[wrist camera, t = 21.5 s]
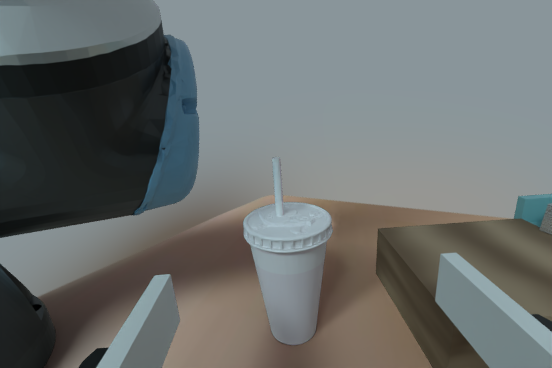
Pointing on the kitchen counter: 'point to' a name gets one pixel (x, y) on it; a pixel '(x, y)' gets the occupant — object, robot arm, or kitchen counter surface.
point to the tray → (532, 208)
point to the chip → (547, 220)
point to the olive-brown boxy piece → (482, 256)
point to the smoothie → (289, 261)
